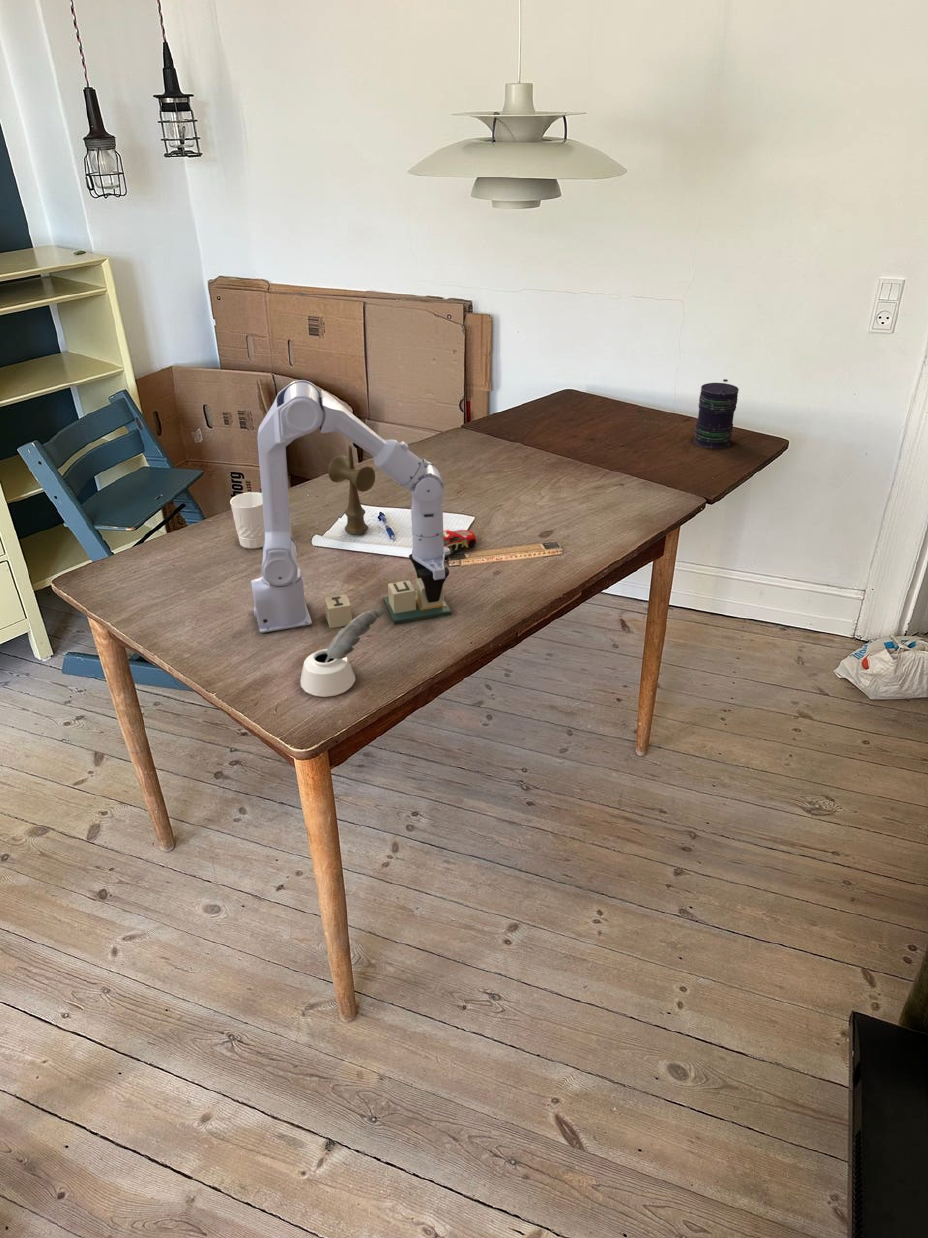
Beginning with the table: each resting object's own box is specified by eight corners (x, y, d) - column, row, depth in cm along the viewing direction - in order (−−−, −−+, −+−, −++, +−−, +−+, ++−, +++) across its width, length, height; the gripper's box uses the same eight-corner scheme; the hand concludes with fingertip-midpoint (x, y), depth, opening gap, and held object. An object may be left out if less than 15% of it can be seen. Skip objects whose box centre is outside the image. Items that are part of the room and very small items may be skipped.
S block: (422, 608, 166) (421, 588, 164) (416, 597, 170) (415, 577, 167) (443, 604, 167) (443, 584, 165) (437, 594, 171) (436, 574, 168)
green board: (394, 624, 163) (394, 620, 163) (383, 600, 170) (383, 596, 170) (451, 614, 166) (451, 610, 165) (437, 591, 173) (437, 587, 173)
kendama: (352, 520, 201) (345, 436, 190) (381, 533, 195) (375, 447, 185) (332, 529, 197) (324, 443, 187) (360, 542, 192) (354, 455, 181)
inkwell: (289, 681, 148) (282, 631, 143) (371, 639, 159) (368, 591, 154) (322, 705, 142) (316, 653, 137) (405, 659, 153) (403, 610, 148)
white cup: (229, 546, 190) (222, 504, 185) (249, 531, 196) (243, 490, 191) (261, 552, 188) (255, 509, 183) (280, 536, 194) (275, 494, 189)
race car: (466, 536, 194) (466, 519, 192) (481, 545, 190) (481, 528, 188) (416, 553, 187) (416, 536, 185) (431, 562, 183) (430, 545, 181)
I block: (330, 628, 162) (327, 608, 160) (325, 617, 165) (323, 597, 163) (352, 624, 163) (350, 604, 161) (347, 613, 167) (346, 593, 164)
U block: (394, 613, 165) (393, 593, 162) (389, 602, 168) (387, 582, 166) (416, 610, 166) (415, 590, 164) (410, 599, 169) (409, 579, 167)
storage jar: (688, 436, 246) (697, 371, 236) (722, 434, 246) (732, 370, 237) (700, 449, 237) (710, 383, 228) (736, 447, 238) (746, 381, 228)
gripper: (460, 544, 156) (461, 610, 163) (437, 511, 167) (439, 574, 175) (422, 550, 154) (424, 616, 161) (401, 516, 166) (404, 579, 173)
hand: (429, 595), depth 168 cm, fingers closed on S block, 4 cm apart
